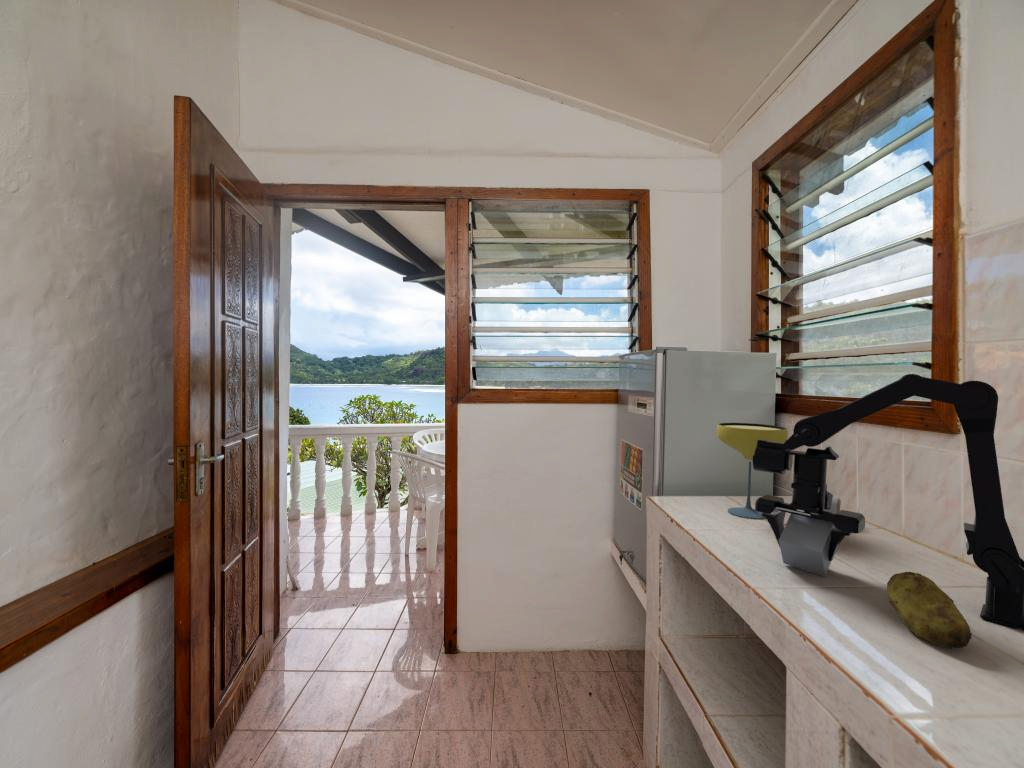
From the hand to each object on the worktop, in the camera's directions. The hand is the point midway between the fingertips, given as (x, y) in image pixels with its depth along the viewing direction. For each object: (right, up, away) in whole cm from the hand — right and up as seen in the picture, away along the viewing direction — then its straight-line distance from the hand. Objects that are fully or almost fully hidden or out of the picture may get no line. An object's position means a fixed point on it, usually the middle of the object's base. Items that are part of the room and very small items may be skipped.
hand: (805, 554), depth 103 cm
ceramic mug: (+25, -3, +36) cm, 44 cm away
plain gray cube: (+2, -1, +1) cm, 2 cm away
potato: (+4, -4, -24) cm, 25 cm away
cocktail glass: (+7, -2, +40) cm, 41 cm away
